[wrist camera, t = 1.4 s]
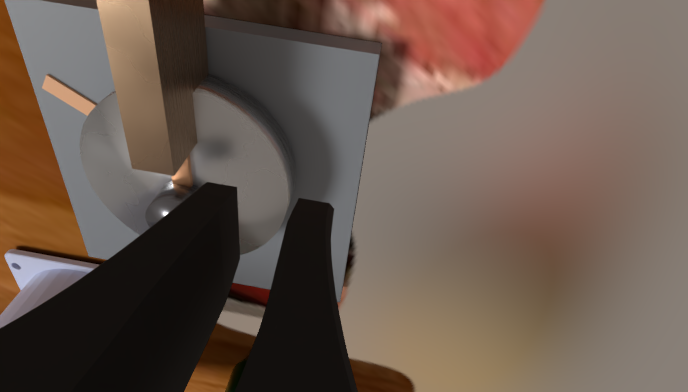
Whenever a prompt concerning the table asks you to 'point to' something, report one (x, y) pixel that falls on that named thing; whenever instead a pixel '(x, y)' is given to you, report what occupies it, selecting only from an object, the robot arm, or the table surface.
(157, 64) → the cam
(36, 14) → the stand plate
